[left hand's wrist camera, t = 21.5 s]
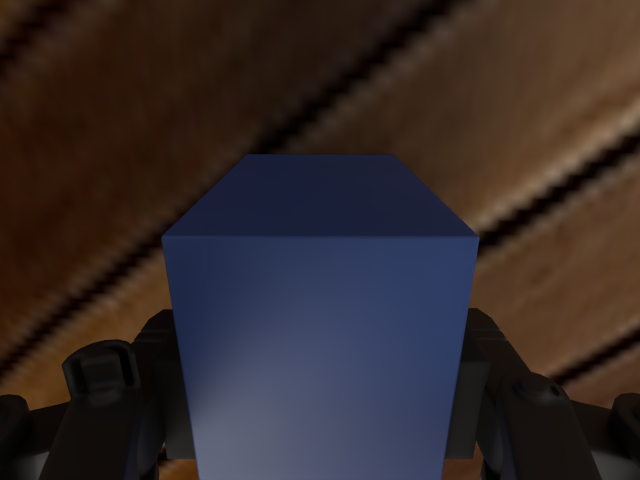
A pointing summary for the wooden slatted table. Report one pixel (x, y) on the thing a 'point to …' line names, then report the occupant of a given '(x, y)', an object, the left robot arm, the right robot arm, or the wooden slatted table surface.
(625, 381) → the wooden slatted table surface
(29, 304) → the wooden slatted table surface
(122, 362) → the left robot arm
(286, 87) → the wooden slatted table surface
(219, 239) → the block
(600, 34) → the wooden slatted table surface
